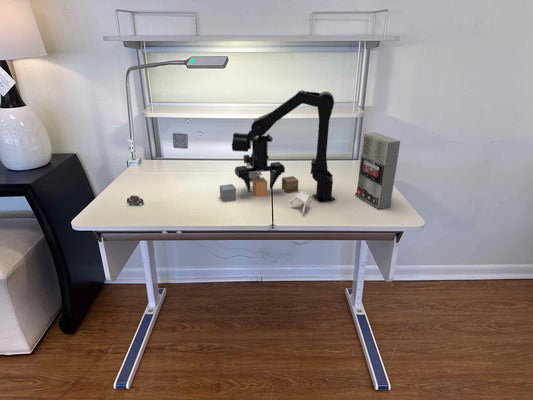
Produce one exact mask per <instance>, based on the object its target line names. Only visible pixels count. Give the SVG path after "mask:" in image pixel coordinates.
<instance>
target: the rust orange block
mask: <svg viewBox="0 0 533 400" xmlns="http://www.w3.org/2000/svg"><path fill="white" fill-rule="evenodd" d="M252 194H253V195H254V196H255V197H256V198H261V196H262V197H267V196H268V181H267V180H266V179H265V178H264V177H259V178H258V177H257V178H255V179H253V181H252Z"/></svg>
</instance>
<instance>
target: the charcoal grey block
mask: <svg viewBox="0 0 533 400" xmlns="http://www.w3.org/2000/svg"><path fill="white" fill-rule="evenodd" d="M219 197H220V199H221V200H222V203H228V202H229V203H230V202H234V201H237V188H236V186H234V184H233V183H230V184H222V185H219Z"/></svg>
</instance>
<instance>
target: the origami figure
mask: <svg viewBox="0 0 533 400" xmlns="http://www.w3.org/2000/svg"><path fill="white" fill-rule="evenodd" d="M295 200H298V201H300V202H301V203H302V204H303V207H302V213H300V215H301V216H303V215H304V214H305V209H306V206H307V208H308V209H309V206H310V204H311V203H312V201H313V200H312V199H311V197H310V195H309V194H308V193H307V192H305V191H304V190H303V191H301V192H299V193H297V194H295V195H293V196H292V198H290V199H289V200H288V201H287V202H288V203H290V204H291V205H292V206H291V207H290V208H291V209H294V208H297V207H296V205H295V204H294V203H293V201H295ZM309 200H310V201H309Z"/></svg>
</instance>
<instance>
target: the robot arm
mask: <svg viewBox="0 0 533 400" xmlns="http://www.w3.org/2000/svg"><path fill="white" fill-rule="evenodd" d="M302 104H304V105H308V106H311V107H315V108H316V107H317V112H318V114H317V115H318V130H317V133H318V134H317V144H316V155H315V156H316V157H315V159H314V158H311V163H310V164H311V167H310V174H311V175H312V179H313V180H314V181H316V189H315V191H316V193H315V194H312V197H313V198H314V199H316V200H317V202H320V203H322V202H330V201H335V200H336V199H335V197H334V196H332V194H333V184H334V180H333V176H334V175H333V174H332V173H331V172H330V171H329V170H328V169H329V167H328V160H327V151H328V141H329V129H330V128H329V126H330V121H331V120H330V119H331V116H332V113H333V109H334V106H335V99H334V96H333V94H332V93H331V92H330V91H322V92H316V91H306V90H298V91H297V93H296V94H294V95H293V96H291V97H290V98H288V99H287V100H286V101H284V102H283V103H282V104H280V105H278V107H276V108H275V109H274V110H272V111H270V112H268V113H265V114H263V115H261V116H260V117H257V118H256V119H255V120H254V121H253V122H252V124H251V128H250V130H249V131H248V132H247V133H240V132H234V133H233V134H232V136H233V137H232V142H231V150H232V151H233V152H244V153H245V152H249V150H251V149H252V151H251V152H252V153H251V156H250V155H249V154H244V155H243V163H244V164H246V163H248V164H249V165H250V166H251V167H253V168H246V167H245V165H240V166H235V168H234V174H235V175H236V176H237V177H238V178H239V179H241V180H243V181H244V183H245V187H246V189H247V192H248V193H250V192H251V178H250V177H249V173H256V172H261V173H262V172H269V176H270V178H269V189H270V190H273V188H274V185H275V183H276V181H277V179H278V178H279V177H280V176H282V174H284V173H285V172H286V171H285V170H286V167H285V165H283V164H282V163H281V162H280V161H277V162H276V161H275V162H270V164H269V165H268V160H269V155H268V150H269V149H268V148H269V147H268V146H269V143H270V142H271V143H272V142H273V138H274V137H272V135H270V133H268V134H267V132H268V131H269V130H271V128H272V127H273V126H274V125H275V123H276V122H278V121H280V120H281V119H282V118H283V117H285V116H286V115H288V114H290V113H291V112H292V111H294V110H295V109H297V108H298V107H299V106H301V105H302ZM265 134H267V135H265Z"/></svg>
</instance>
